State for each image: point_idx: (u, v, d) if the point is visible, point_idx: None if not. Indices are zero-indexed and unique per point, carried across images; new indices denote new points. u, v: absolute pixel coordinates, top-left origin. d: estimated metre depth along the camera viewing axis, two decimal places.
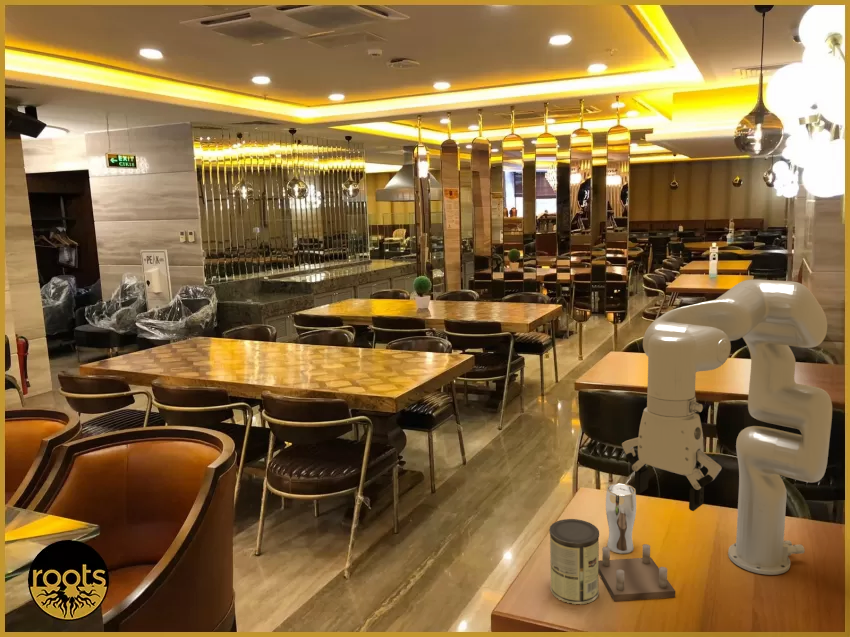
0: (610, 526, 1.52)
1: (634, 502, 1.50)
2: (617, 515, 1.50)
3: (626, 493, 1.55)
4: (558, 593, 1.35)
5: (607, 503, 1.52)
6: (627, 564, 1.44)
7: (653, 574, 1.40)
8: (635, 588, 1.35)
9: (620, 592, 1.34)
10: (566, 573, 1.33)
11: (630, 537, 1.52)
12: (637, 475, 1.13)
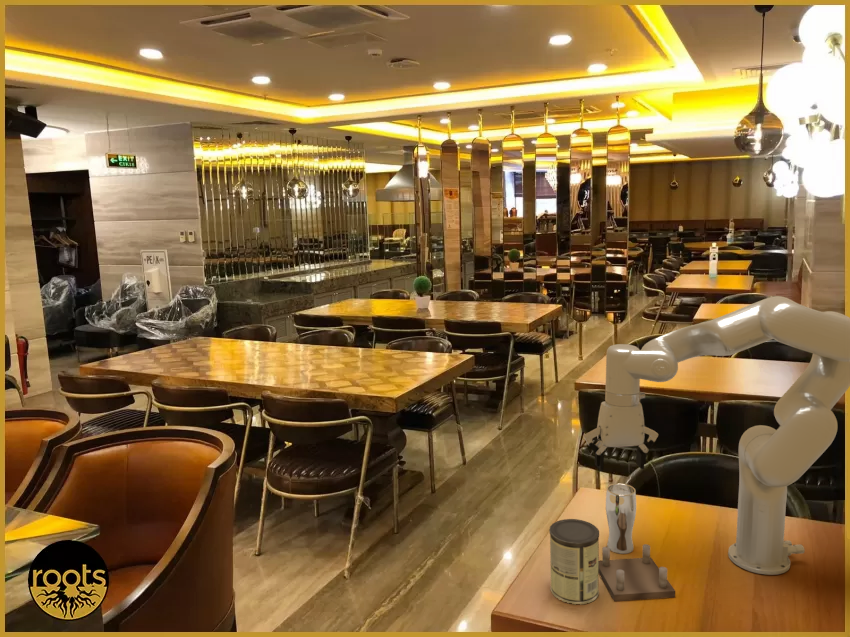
0: (610, 526, 1.52)
1: (634, 502, 1.50)
2: (617, 515, 1.50)
3: (626, 493, 1.55)
4: (558, 593, 1.35)
5: (607, 503, 1.52)
6: (627, 564, 1.44)
7: (653, 574, 1.40)
8: (635, 588, 1.35)
9: (620, 592, 1.34)
10: (566, 573, 1.33)
11: (630, 537, 1.52)
12: (601, 457, 1.48)
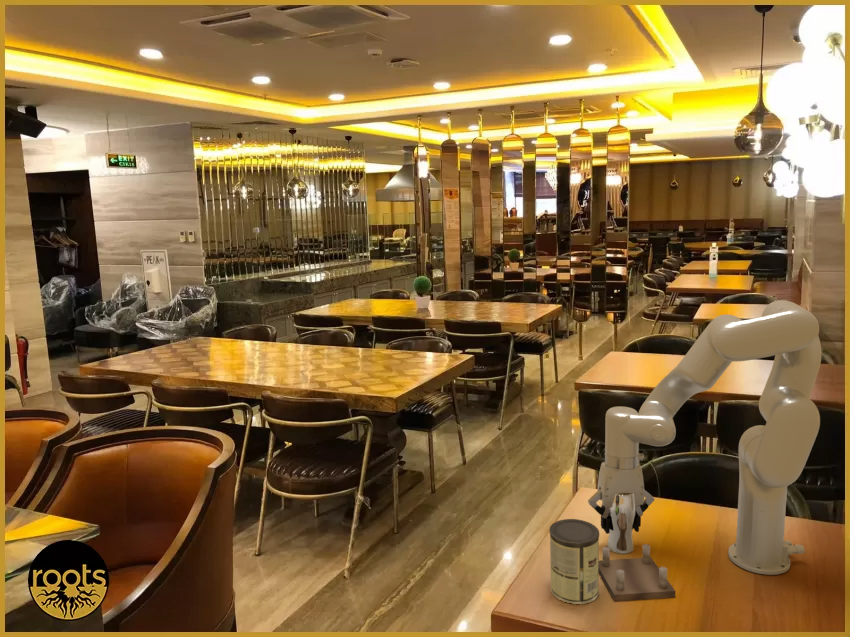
0: (610, 526, 1.52)
1: (634, 502, 1.50)
2: (617, 515, 1.50)
3: None
4: (558, 593, 1.35)
5: None
6: (627, 564, 1.44)
7: (653, 574, 1.40)
8: (635, 588, 1.35)
9: (620, 592, 1.34)
10: (566, 573, 1.33)
11: (630, 537, 1.52)
12: (607, 520, 1.51)
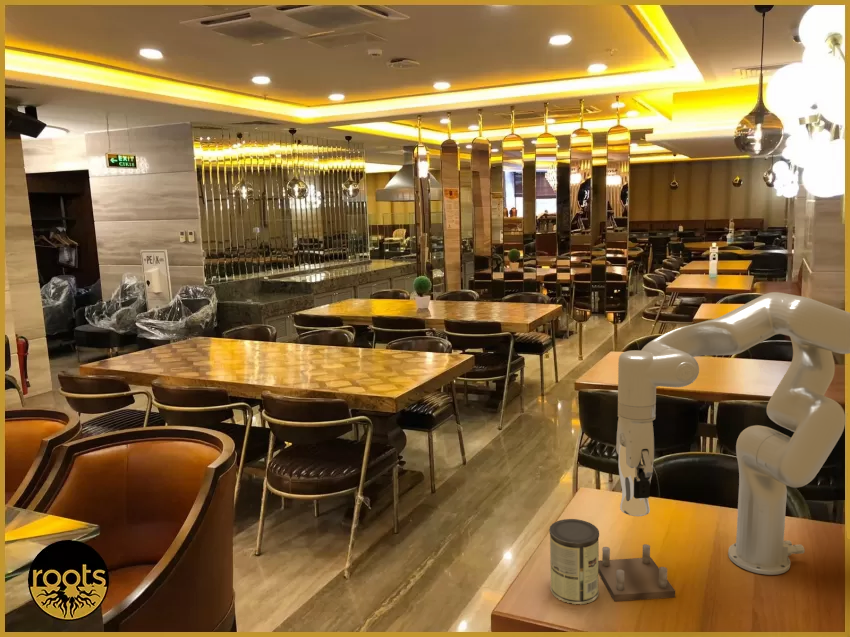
0: None
1: None
2: None
3: None
4: (558, 593, 1.35)
5: None
6: (627, 564, 1.44)
7: (653, 574, 1.40)
8: (635, 588, 1.35)
9: (620, 592, 1.34)
10: (566, 573, 1.33)
11: None
12: None
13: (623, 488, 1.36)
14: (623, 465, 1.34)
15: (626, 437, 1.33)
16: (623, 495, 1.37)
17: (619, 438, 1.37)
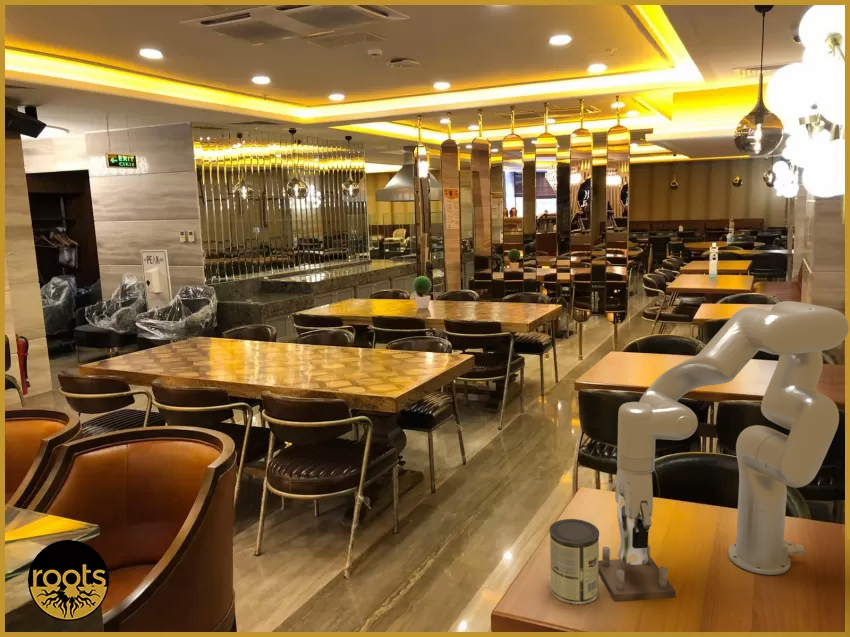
0: None
1: None
2: None
3: None
4: (558, 593, 1.35)
5: None
6: (627, 564, 1.44)
7: (653, 574, 1.40)
8: (635, 588, 1.35)
9: (620, 592, 1.34)
10: (566, 572, 1.33)
11: None
12: (647, 532, 1.35)
13: (622, 537, 1.38)
14: (622, 515, 1.36)
15: (625, 488, 1.34)
16: (622, 544, 1.39)
17: (618, 487, 1.39)
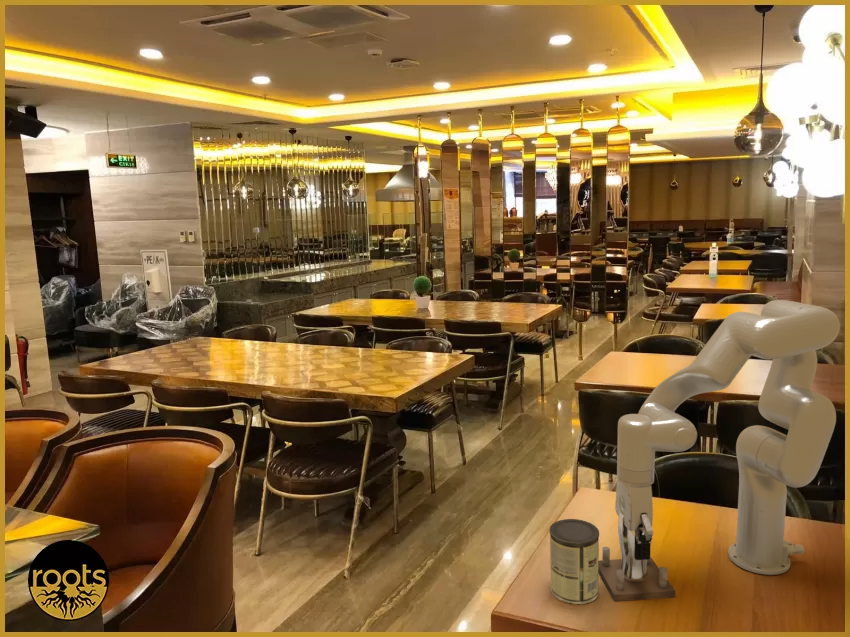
0: None
1: None
2: None
3: None
4: (558, 593, 1.35)
5: (642, 532, 1.35)
6: None
7: (653, 574, 1.40)
8: (635, 588, 1.35)
9: (620, 592, 1.34)
10: (566, 572, 1.33)
11: None
12: None
13: (622, 554, 1.39)
14: (623, 533, 1.37)
15: (625, 500, 1.35)
16: (622, 561, 1.39)
17: (618, 499, 1.39)
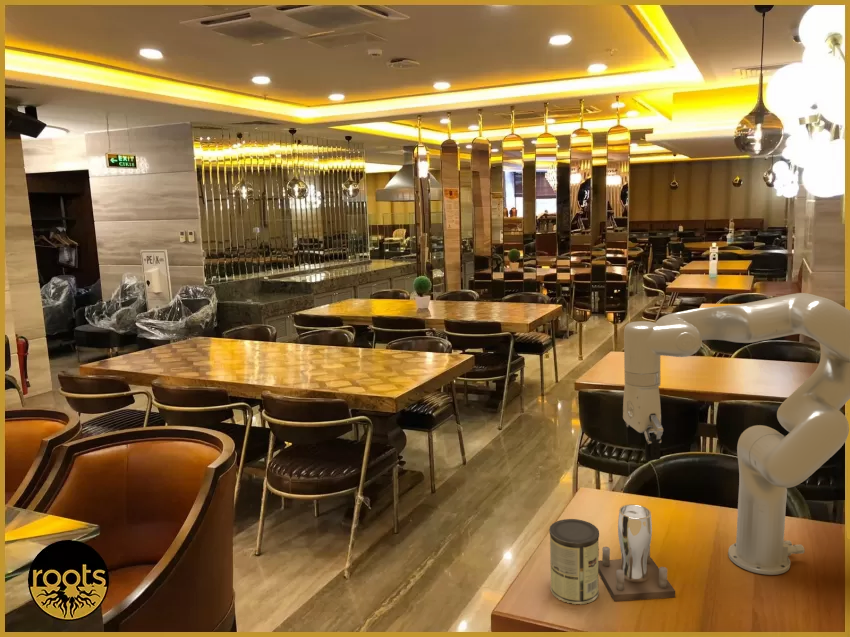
0: (643, 555, 1.37)
1: None
2: None
3: None
4: (558, 593, 1.35)
5: (642, 532, 1.35)
6: None
7: (653, 574, 1.40)
8: (635, 588, 1.35)
9: (620, 592, 1.34)
10: (566, 573, 1.33)
11: None
12: (659, 443, 1.39)
13: (622, 554, 1.39)
14: (622, 533, 1.37)
15: (634, 404, 1.40)
16: (622, 561, 1.39)
17: (626, 406, 1.44)
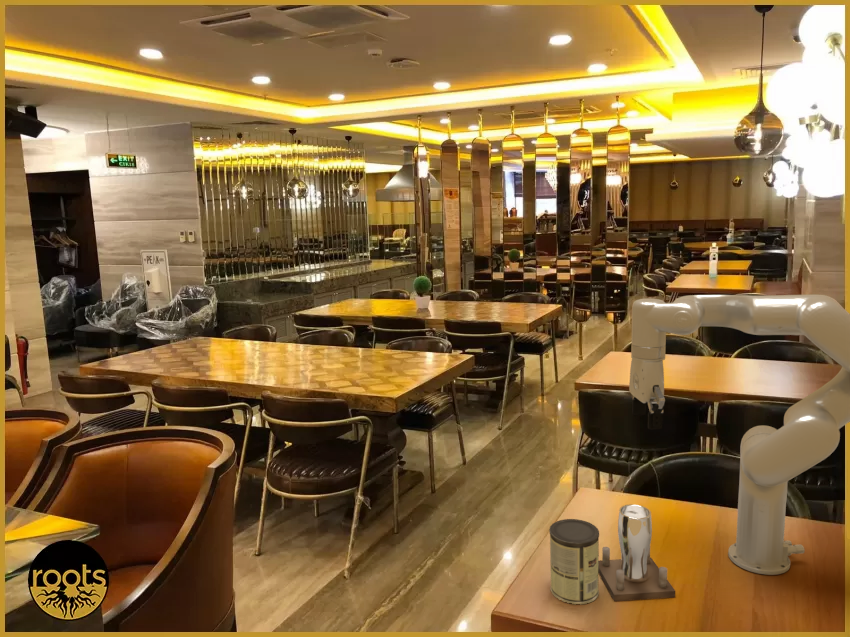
0: (643, 555, 1.37)
1: None
2: None
3: None
4: (558, 593, 1.35)
5: (642, 532, 1.35)
6: None
7: (653, 574, 1.40)
8: (635, 588, 1.35)
9: (620, 592, 1.34)
10: (566, 573, 1.33)
11: None
12: None
13: (622, 554, 1.39)
14: (622, 533, 1.37)
15: (639, 376, 1.48)
16: (622, 561, 1.39)
17: (632, 378, 1.53)
